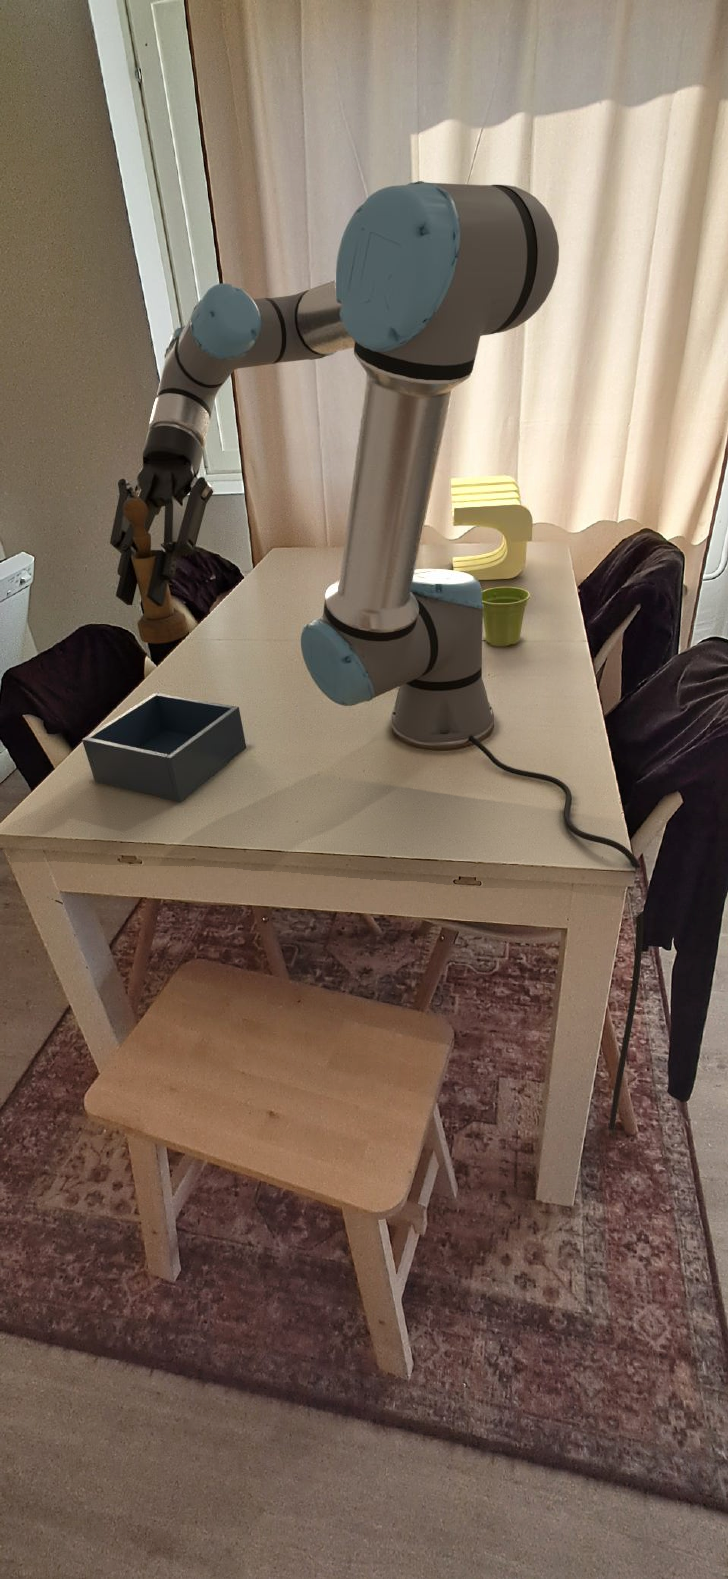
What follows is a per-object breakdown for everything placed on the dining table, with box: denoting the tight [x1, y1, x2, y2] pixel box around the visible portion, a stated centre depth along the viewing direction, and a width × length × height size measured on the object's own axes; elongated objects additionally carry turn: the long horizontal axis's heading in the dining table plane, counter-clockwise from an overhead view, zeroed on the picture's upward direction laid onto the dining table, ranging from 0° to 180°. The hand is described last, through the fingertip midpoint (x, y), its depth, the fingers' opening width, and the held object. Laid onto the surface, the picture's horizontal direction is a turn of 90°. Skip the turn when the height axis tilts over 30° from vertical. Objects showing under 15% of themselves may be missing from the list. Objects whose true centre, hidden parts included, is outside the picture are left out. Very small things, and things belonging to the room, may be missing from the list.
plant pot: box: [482, 586, 531, 647], centre depth 139 cm, size 9×9×9 cm
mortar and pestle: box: [123, 498, 189, 645], centre depth 101 cm, size 7×6×18 cm
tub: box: [81, 692, 247, 803], centre depth 110 cm, size 16×16×7 cm
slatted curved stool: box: [450, 475, 534, 581], centre depth 173 cm, size 30×16×18 cm, turn 176°
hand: (139, 600), depth 99 cm, fingers closed on mortar and pestle, 4 cm apart
